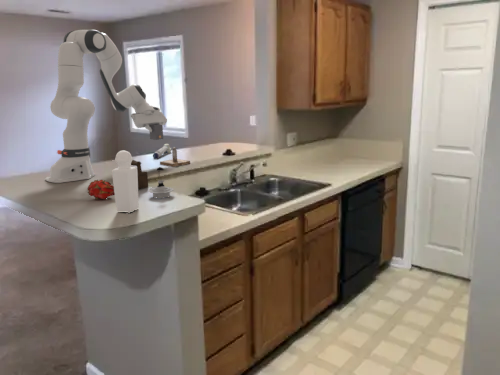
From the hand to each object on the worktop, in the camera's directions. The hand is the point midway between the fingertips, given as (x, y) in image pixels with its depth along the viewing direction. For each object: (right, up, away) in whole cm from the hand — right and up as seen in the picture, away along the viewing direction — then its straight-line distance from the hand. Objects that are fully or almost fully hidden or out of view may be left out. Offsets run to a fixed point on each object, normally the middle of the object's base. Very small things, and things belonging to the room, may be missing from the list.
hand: (157, 130), depth 243 cm
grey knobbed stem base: (+16, -36, -67) cm, 78 cm away
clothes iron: (0, -31, -49) cm, 59 cm away
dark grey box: (0, -4, +2) cm, 5 cm away
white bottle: (+8, -40, -87) cm, 96 cm away
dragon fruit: (-7, -36, -69) cm, 79 cm away
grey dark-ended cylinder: (-4, -11, +35) cm, 37 cm away
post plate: (+10, -18, +4) cm, 21 cm away
